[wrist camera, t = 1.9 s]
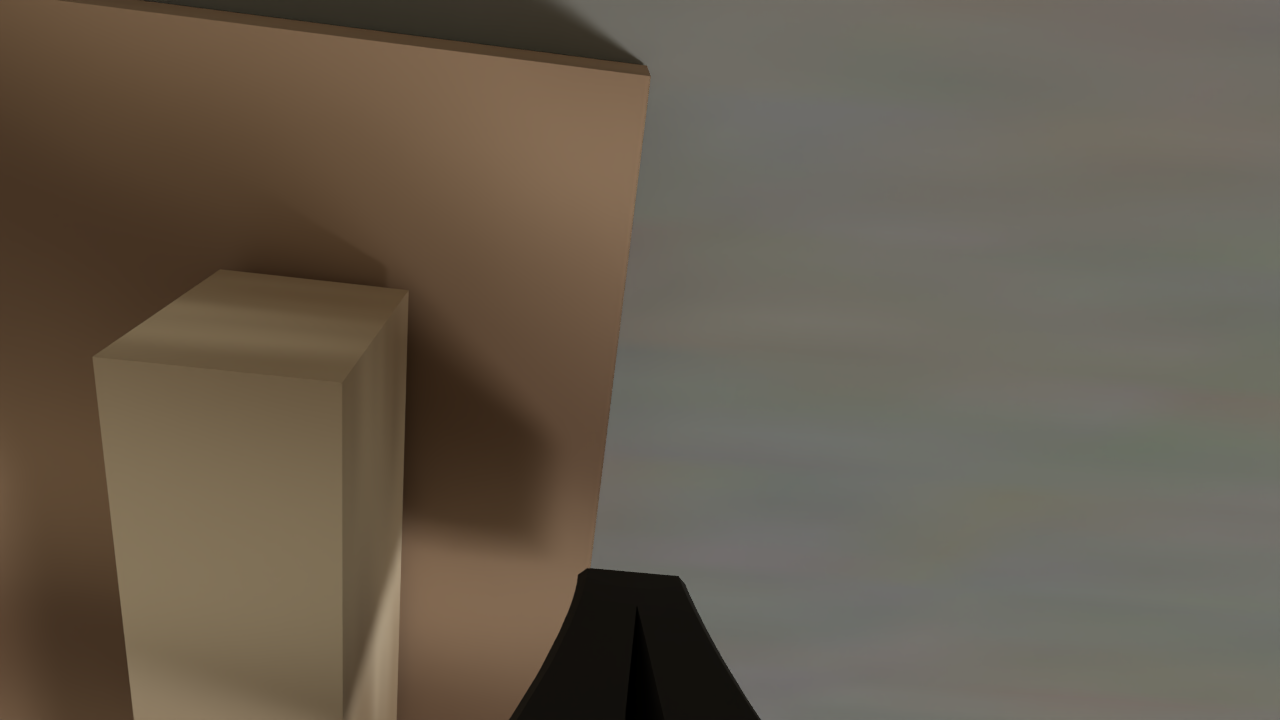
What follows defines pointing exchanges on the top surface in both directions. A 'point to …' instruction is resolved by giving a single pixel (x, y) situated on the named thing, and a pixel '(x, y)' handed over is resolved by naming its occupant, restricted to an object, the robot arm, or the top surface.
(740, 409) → the top surface
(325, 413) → the folding leg
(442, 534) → the stool seat
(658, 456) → the top surface
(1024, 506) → the top surface
